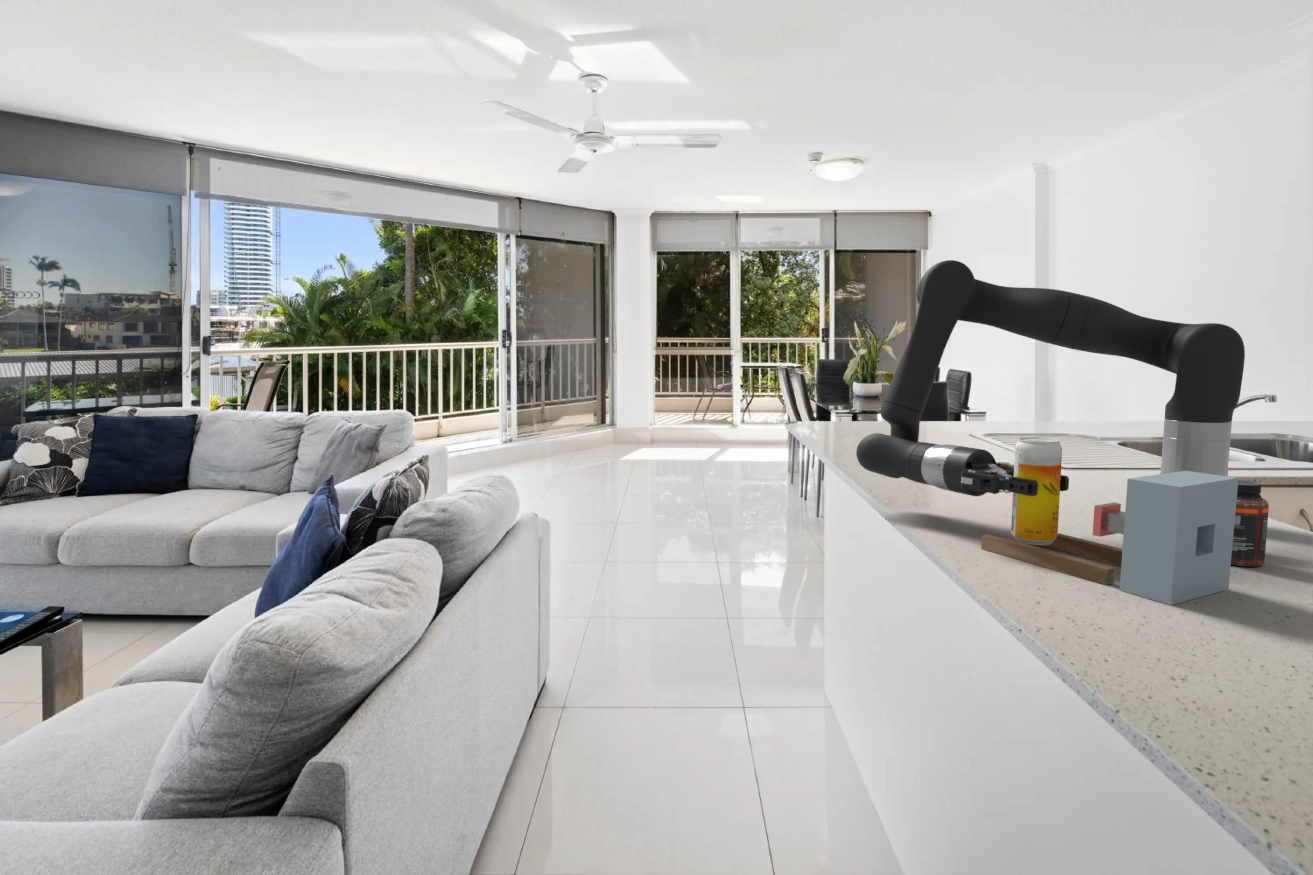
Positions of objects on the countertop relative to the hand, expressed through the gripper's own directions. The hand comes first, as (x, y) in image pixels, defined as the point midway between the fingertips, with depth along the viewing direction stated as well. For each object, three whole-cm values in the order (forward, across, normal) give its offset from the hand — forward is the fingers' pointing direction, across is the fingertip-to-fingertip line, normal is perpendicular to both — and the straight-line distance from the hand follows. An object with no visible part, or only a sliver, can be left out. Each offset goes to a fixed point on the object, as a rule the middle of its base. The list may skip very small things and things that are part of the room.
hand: (1051, 486), depth 107 cm
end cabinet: (+17, 0, +10) cm, 20 cm away
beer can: (-2, 0, +9) cm, 9 cm away
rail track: (+3, 0, +10) cm, 10 cm away
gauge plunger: (+13, 0, +5) cm, 14 cm away
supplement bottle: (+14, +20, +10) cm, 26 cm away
